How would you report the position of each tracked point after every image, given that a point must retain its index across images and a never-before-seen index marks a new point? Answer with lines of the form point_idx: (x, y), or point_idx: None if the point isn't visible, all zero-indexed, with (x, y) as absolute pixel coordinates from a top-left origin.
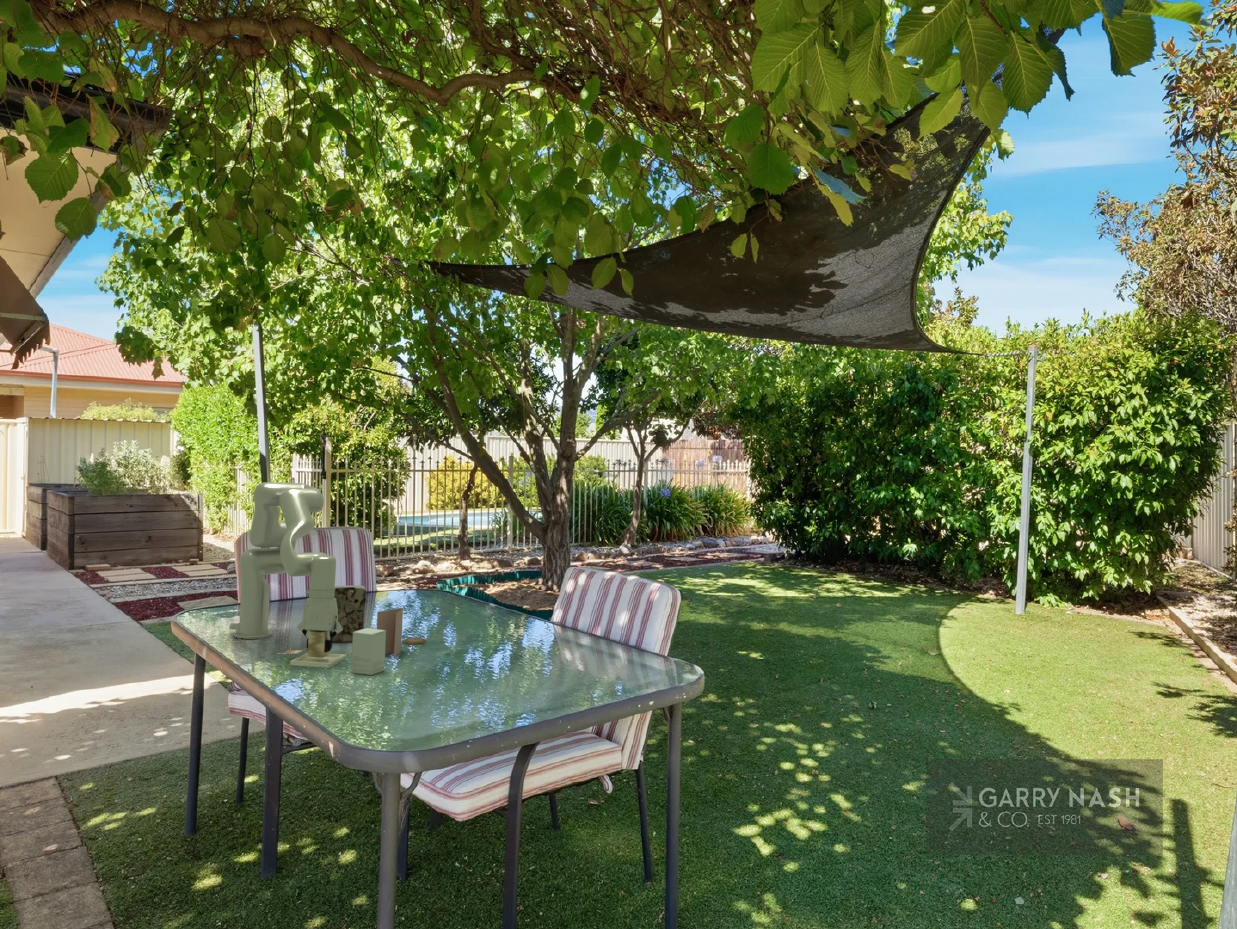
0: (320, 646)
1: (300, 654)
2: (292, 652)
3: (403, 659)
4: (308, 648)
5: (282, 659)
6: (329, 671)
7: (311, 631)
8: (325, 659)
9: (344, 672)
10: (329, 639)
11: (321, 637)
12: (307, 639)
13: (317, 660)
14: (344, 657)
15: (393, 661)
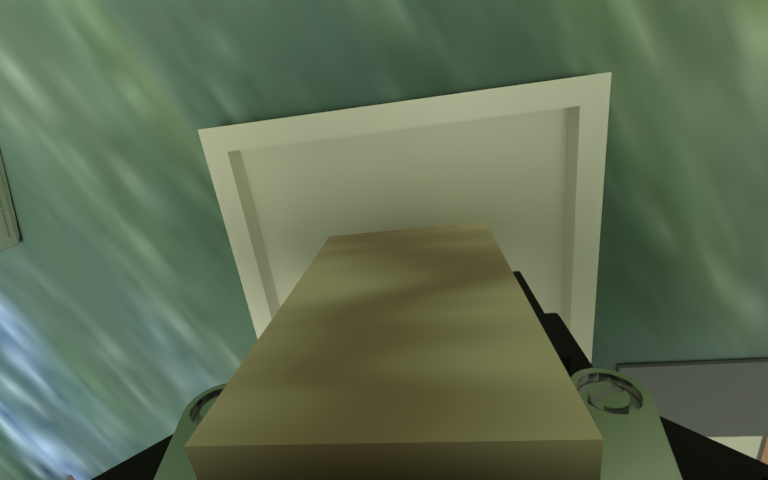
0: (334, 283)
1: None
2: (747, 450)
3: (19, 474)
4: (496, 256)
5: (756, 264)
6: (147, 29)
7: (540, 467)
8: None
9: (26, 51)
10: (210, 390)
11: (285, 361)
12: (590, 377)
13: None
14: None
15: (24, 427)
